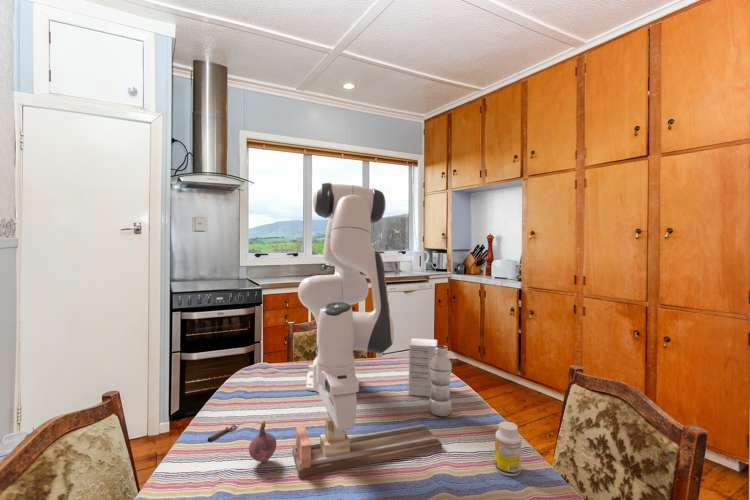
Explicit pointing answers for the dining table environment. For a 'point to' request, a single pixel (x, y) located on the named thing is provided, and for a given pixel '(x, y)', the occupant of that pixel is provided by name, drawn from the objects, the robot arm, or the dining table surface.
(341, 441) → the block
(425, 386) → the supplement box
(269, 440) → the vegetable
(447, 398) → the plastic bottle
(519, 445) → the supplement bottle
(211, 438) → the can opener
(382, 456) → the rail board
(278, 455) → the dining table surface
